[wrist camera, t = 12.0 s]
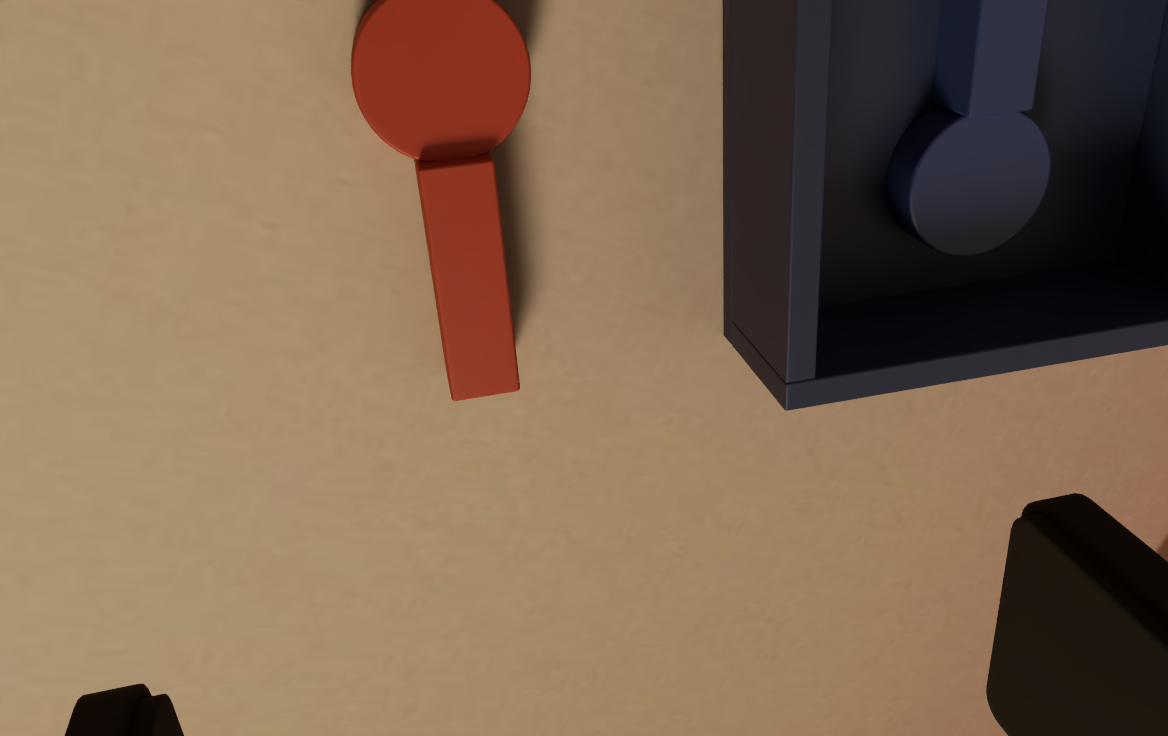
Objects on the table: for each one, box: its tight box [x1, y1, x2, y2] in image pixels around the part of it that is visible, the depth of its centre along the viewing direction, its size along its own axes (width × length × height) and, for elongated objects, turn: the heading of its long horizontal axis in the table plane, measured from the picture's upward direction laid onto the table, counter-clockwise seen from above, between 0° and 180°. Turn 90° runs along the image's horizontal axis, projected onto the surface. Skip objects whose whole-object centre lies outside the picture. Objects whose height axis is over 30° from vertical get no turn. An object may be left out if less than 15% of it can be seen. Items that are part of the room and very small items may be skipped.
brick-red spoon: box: [351, 0, 531, 401], centre depth 21 cm, size 9×4×2 cm, turn 4°
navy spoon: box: [886, 0, 1051, 257], centre depth 22 cm, size 9×4×2 cm, turn 4°
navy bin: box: [723, 0, 1168, 410], centre depth 21 cm, size 13×11×4 cm
